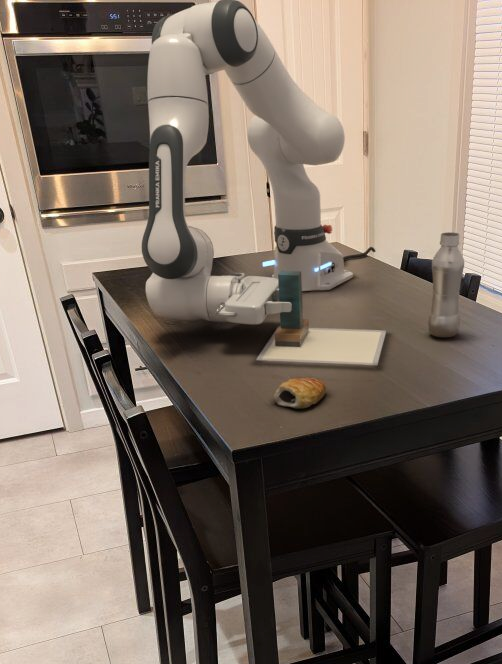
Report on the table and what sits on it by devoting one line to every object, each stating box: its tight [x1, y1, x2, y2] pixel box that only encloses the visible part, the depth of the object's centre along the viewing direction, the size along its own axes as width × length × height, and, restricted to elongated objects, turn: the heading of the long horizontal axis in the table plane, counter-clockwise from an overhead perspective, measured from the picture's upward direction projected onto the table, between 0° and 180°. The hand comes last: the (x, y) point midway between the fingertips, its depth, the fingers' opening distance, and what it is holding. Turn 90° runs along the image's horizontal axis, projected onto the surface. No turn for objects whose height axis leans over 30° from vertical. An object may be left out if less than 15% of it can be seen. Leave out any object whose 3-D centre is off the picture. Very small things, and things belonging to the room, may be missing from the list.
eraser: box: [275, 271, 310, 347], centre depth 143 cm, size 5×10×13 cm, turn 172°
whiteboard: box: [255, 326, 387, 366], centre depth 143 cm, size 23×20×1 cm
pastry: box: [273, 377, 327, 410], centre depth 121 cm, size 9×7×4 cm
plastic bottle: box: [427, 232, 465, 338], centre depth 143 cm, size 6×7×20 cm
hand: (295, 301), depth 142 cm, fingers open, 5 cm apart
